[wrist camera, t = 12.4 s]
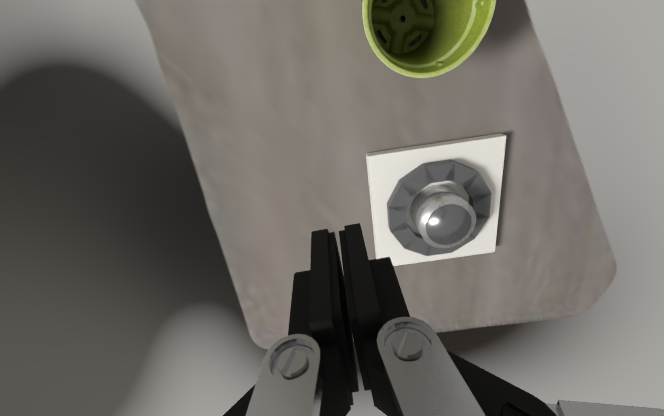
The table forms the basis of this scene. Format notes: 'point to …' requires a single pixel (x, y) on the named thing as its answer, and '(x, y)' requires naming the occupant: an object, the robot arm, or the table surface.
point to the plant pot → (426, 33)
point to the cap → (442, 216)
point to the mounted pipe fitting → (427, 170)
